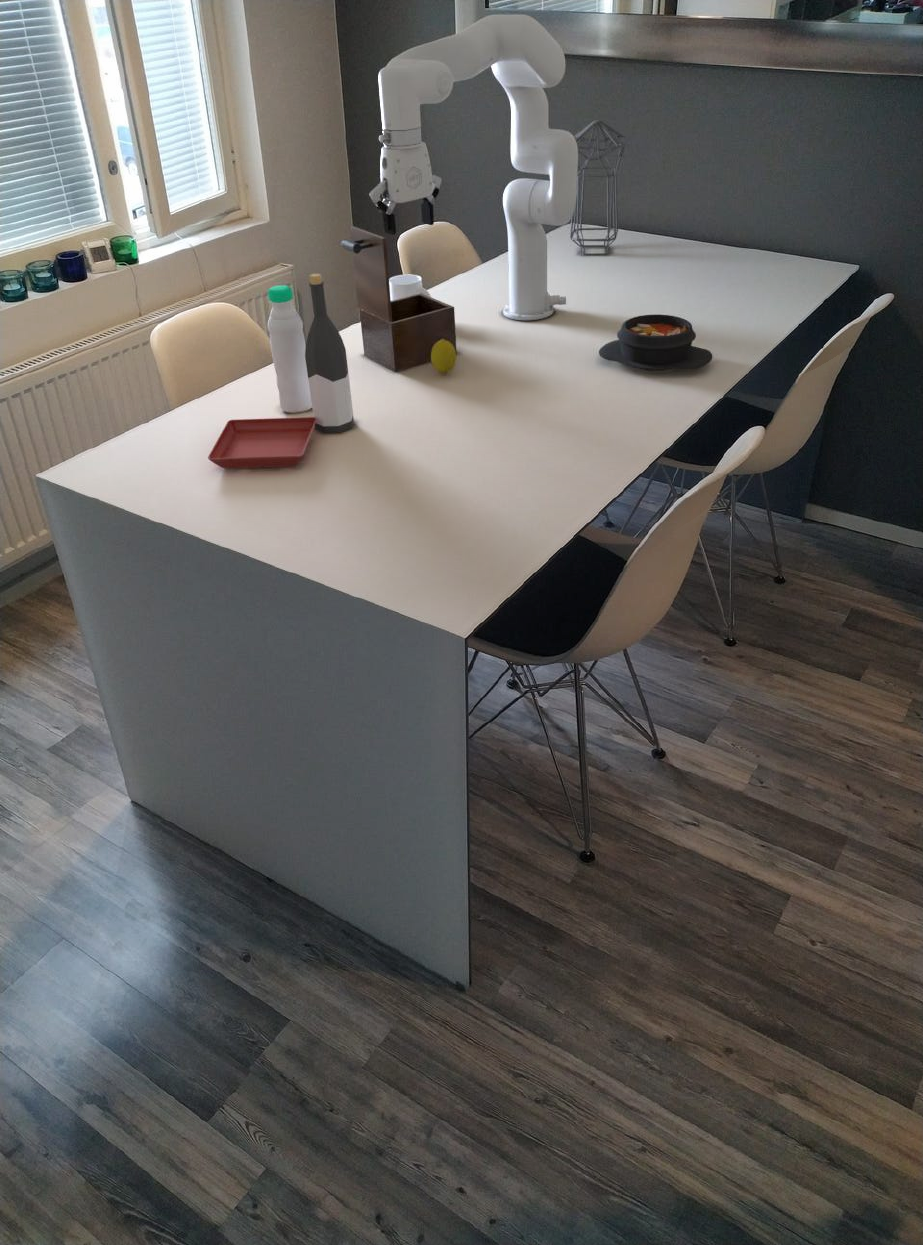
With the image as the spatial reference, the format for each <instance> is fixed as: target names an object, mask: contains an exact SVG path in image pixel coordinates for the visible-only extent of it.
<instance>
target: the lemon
mask: <svg viewBox="0 0 923 1245" xmlns="http://www.w3.org/2000/svg"><path fill="white" fill-rule="evenodd" d="M456 352H457V351H456ZM456 352H455V349H454V347H453V345H452V344H451V343H450V342H449V341H446V340H444V339H441V340H440V341H438V342H436V343H435V344H434V346H433V347H432V351H431V361H430V362H431V364H432V367H433V368H434V370H436V371H437V372H439V373H441V374H442V375H446V374H447V373H449V372H450V371H452V370H453V369H454V368H455V366H456V363H457V354H456Z"/></svg>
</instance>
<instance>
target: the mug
mask: <svg viewBox="0 0 923 1245" xmlns="http://www.w3.org/2000/svg"><path fill="white" fill-rule="evenodd" d="M389 285H390V298H391V301H393V300H397V299H401V298H405V297H408V296H412V295H416V294H420V293H421V294H424V295H426V296H429V297H431V298H432V295H431V294H430V292H429V291H428V290H427V289H426V288H424V286H423V279H422V277H421V276H420V275H418V274H398V275H394V276H392V277H389Z"/></svg>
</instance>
